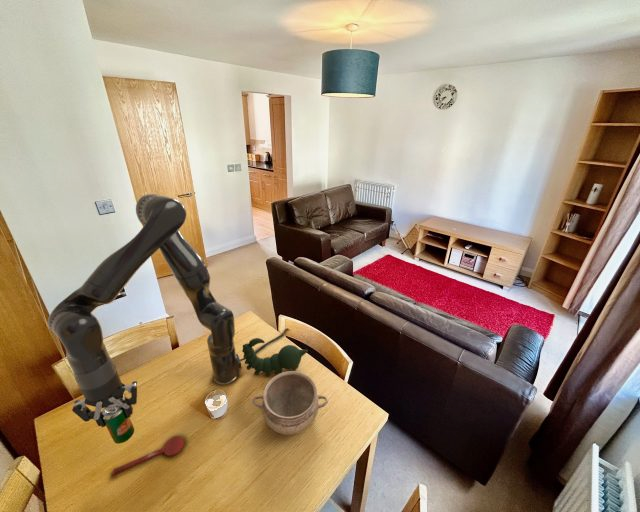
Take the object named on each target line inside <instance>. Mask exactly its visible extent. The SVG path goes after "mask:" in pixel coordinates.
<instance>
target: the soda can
mask: <svg viewBox="0 0 640 512" xmlns="http://www.w3.org/2000/svg"><path fill="white" fill-rule="evenodd" d="M101 412H102V419H103V421H104V423H105V425H106V426H105V427H106V429H107V431H108V432H109V435H110V437H111V439H112V441H113V442H114V443H115V444H119V445H120V444H124V443H126V442H128V441H129V440H130V439H131V438H132V437H133V435H134V433H135V427H134V425H133V422H132V420H131V417H129V418H127V416H126V414H125V411H124V408H123V407H121V406H120V407H119V406H117V405H116V404H113V405H109V406H107V407H105V408H102V410H101Z"/></svg>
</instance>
